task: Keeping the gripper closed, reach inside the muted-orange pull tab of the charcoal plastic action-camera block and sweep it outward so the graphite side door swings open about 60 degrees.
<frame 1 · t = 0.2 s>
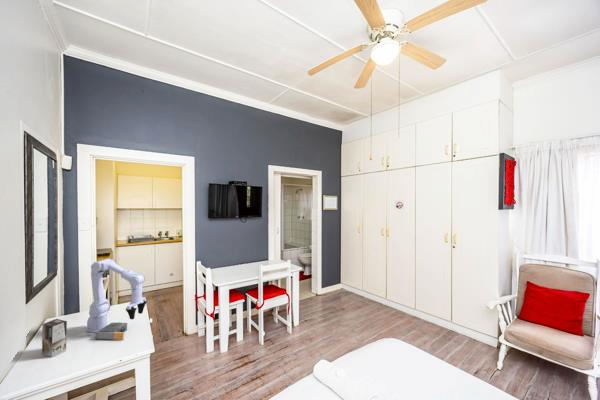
hand: (136, 316, 152), 10 cm above the table, tool pointing down, fingers open, 7 cm apart
side door: (110, 335, 143), point 2 cm above the table, hinge at 0.0°
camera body: (113, 334, 149), on the table
coffee box: (54, 352, 131), on the table
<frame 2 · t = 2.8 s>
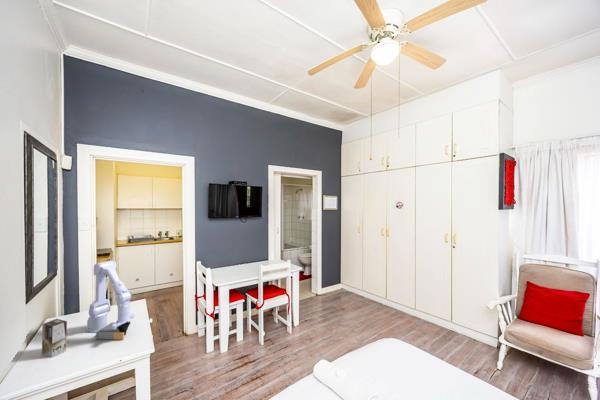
hand: (123, 335, 145), 2 cm above the table, tool pointing down, fingers closed
side door: (110, 335, 143), point 2 cm above the table, hinge at 0.0°, touching gripper
everything else where it was.
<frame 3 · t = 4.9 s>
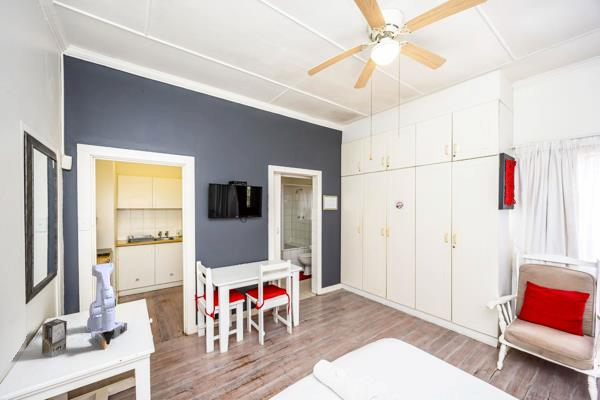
hand: (107, 343, 136), 2 cm above the table, tool pointing down, fingers closed
side door: (101, 339, 139), point 2 cm above the table, hinge at 35.8°, touching gripper
everything else where it was.
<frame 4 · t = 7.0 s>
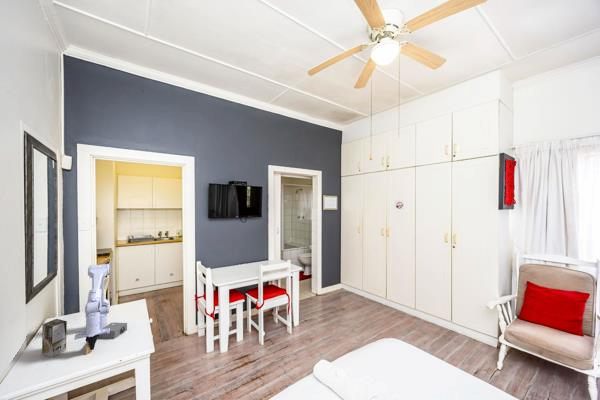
hand: (92, 349, 131), 2 cm above the table, tool pointing down, fingers closed
side door: (92, 342, 136), point 2 cm above the table, hinge at 63.2°, touching gripper
everything else where it was.
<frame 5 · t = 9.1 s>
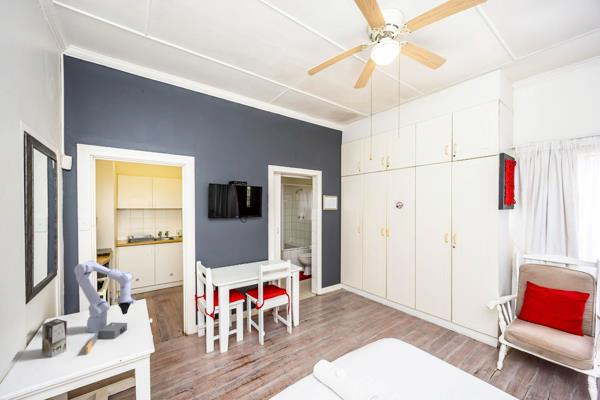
hand: (124, 313, 156), 9 cm above the table, tool pointing down, fingers closed
side door: (92, 342, 136), point 2 cm above the table, hinge at 63.3°
everything else where it was.
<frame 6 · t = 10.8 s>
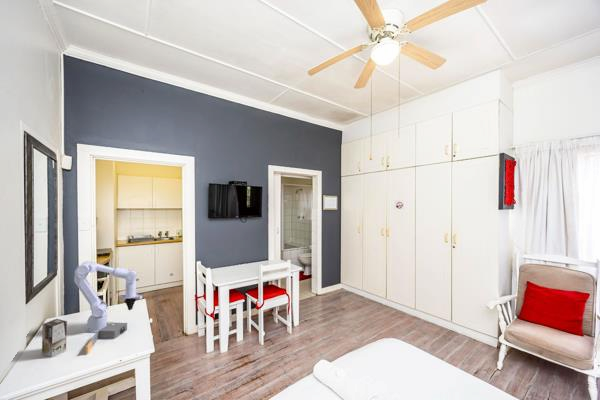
hand: (130, 309, 162), 9 cm above the table, tool pointing down, fingers closed
nothing on the table moved.
at the end: side door at +63° (first picture: +0°) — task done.
